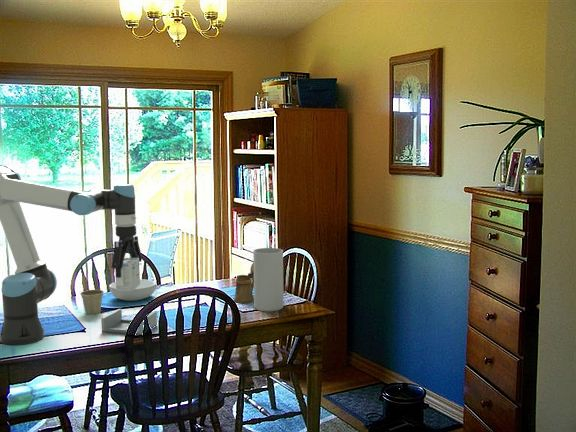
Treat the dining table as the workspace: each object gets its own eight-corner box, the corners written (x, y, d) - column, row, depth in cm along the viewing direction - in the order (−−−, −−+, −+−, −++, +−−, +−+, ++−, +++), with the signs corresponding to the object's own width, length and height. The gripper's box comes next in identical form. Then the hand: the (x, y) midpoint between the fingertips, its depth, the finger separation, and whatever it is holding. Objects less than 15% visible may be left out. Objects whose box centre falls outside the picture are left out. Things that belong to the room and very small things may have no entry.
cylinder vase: (288, 309, 283) (288, 251, 279) (263, 313, 276) (262, 254, 273) (274, 302, 293) (273, 246, 290) (249, 307, 287) (248, 249, 283)
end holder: (141, 336, 247) (140, 320, 247) (101, 332, 252) (101, 317, 251) (157, 326, 260) (156, 311, 259) (119, 323, 264) (118, 308, 263)
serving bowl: (166, 296, 306) (165, 281, 305) (134, 306, 288) (133, 291, 288) (132, 291, 317) (132, 276, 316) (99, 300, 299) (99, 285, 298)
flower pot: (98, 316, 275) (97, 295, 273) (77, 314, 276) (76, 294, 275) (108, 309, 284) (107, 290, 283) (88, 308, 286) (87, 289, 284)
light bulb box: (123, 284, 259) (122, 257, 258) (140, 284, 259) (139, 257, 257) (115, 291, 248) (114, 262, 247) (133, 291, 248) (132, 262, 247)
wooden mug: (266, 299, 299) (265, 260, 296) (240, 304, 291) (239, 263, 289) (255, 295, 306) (255, 257, 304) (230, 300, 298) (229, 260, 296)
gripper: (118, 230, 238) (121, 289, 241) (149, 221, 261) (151, 275, 264) (100, 229, 240) (102, 288, 243) (132, 220, 263) (134, 274, 266)
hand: (128, 282), depth 253 cm, fingers closed on light bulb box, 11 cm apart
